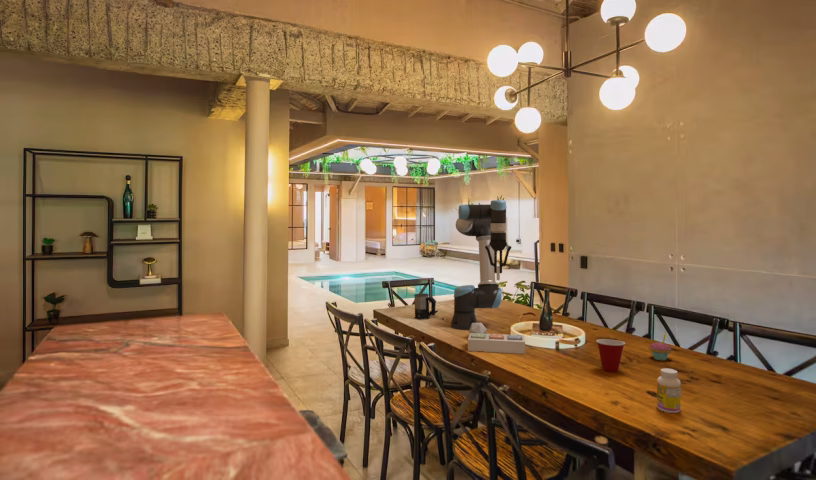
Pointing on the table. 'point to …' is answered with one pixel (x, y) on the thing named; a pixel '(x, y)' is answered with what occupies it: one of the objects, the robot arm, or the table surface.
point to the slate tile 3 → (514, 337)
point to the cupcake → (660, 349)
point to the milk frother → (424, 306)
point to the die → (477, 328)
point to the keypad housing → (496, 344)
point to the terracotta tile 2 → (496, 336)
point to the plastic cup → (610, 354)
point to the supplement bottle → (668, 391)
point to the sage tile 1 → (478, 335)
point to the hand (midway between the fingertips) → (498, 279)
